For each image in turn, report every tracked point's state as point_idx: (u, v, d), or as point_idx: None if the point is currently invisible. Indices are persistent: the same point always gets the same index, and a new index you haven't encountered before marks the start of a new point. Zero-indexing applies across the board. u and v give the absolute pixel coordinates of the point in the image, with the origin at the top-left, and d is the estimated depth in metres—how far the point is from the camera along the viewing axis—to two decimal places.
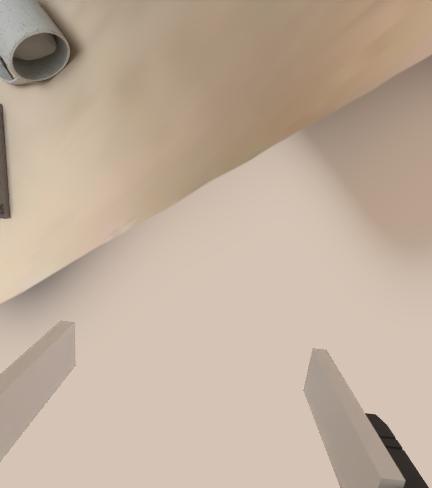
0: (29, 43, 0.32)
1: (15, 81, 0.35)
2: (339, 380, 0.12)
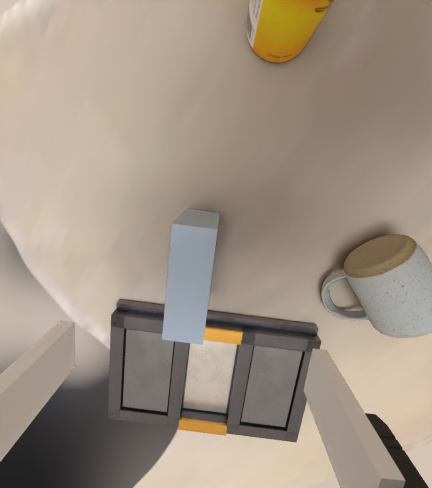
0: None
1: (353, 320, 0.31)
2: (339, 380, 0.12)
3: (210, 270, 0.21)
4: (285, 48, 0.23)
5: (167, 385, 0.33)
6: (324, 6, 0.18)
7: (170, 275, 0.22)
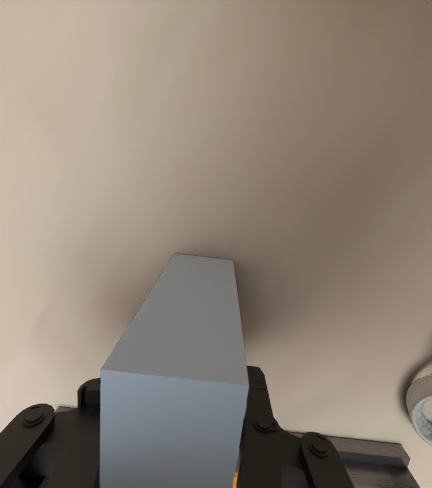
0: None
1: None
2: None
3: None
4: None
5: None
6: None
7: None
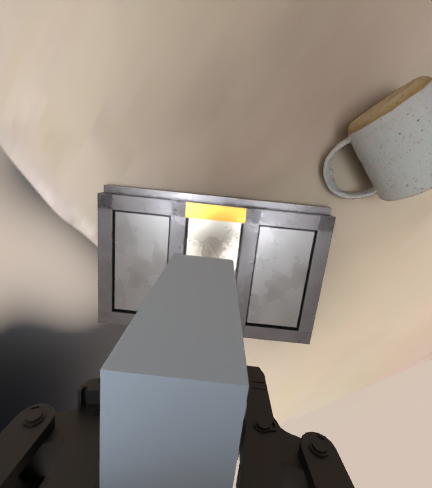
0: None
1: (359, 197, 0.27)
2: None
3: None
4: None
5: None
6: None
7: None
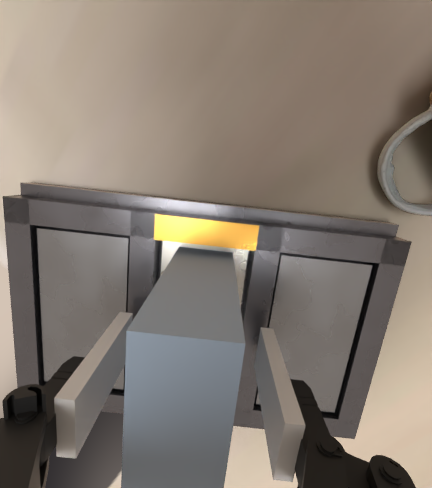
0: None
1: None
2: (276, 352, 0.14)
3: (227, 434, 0.09)
4: None
5: None
6: None
7: (130, 444, 0.09)
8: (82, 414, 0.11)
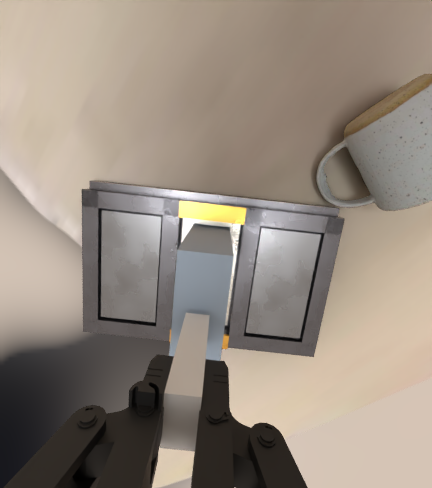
0: None
1: (355, 206, 0.25)
2: (202, 335, 0.15)
3: (225, 305, 0.18)
4: None
5: (154, 286, 0.27)
6: None
7: (176, 311, 0.18)
8: None
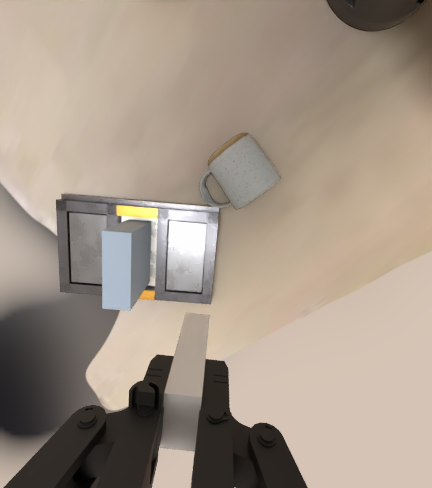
0: None
1: (223, 207, 0.40)
2: (202, 335, 0.15)
3: (129, 259, 0.33)
4: None
5: None
6: None
7: (104, 264, 0.33)
8: None
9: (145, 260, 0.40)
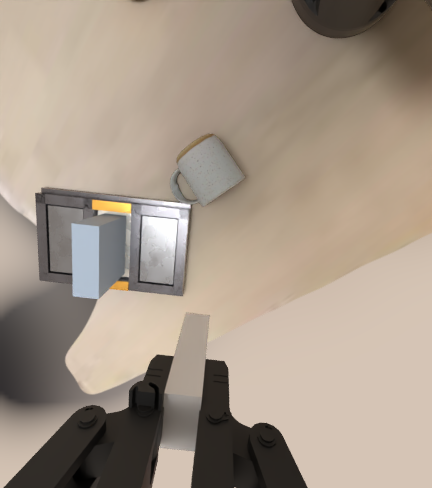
0: None
1: None
2: (202, 335, 0.15)
3: (97, 251, 0.35)
4: None
5: None
6: None
7: (73, 255, 0.35)
8: None
9: (118, 252, 0.42)
